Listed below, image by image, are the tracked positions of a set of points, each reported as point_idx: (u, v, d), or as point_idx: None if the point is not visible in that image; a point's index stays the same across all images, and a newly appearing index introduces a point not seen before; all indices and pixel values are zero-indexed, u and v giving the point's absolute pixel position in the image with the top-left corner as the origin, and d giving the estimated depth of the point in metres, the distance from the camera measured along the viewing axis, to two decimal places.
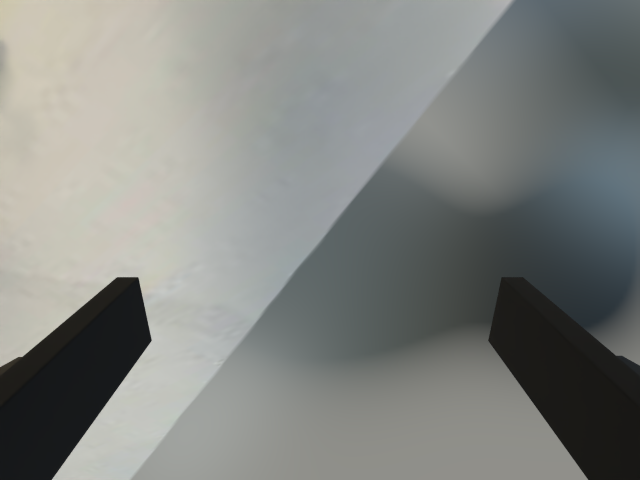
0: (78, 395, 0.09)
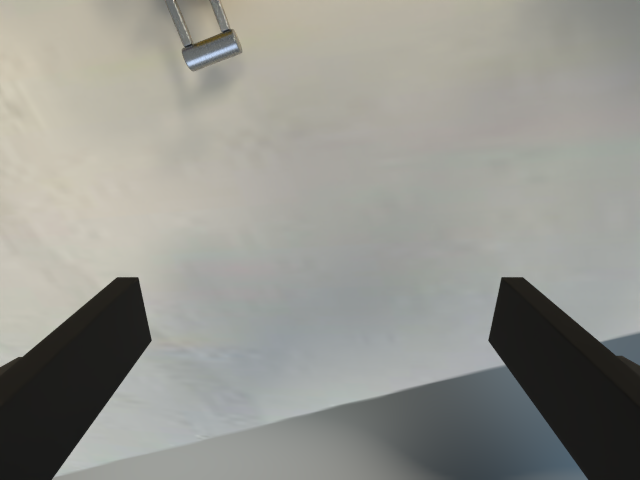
0: (78, 395, 0.09)
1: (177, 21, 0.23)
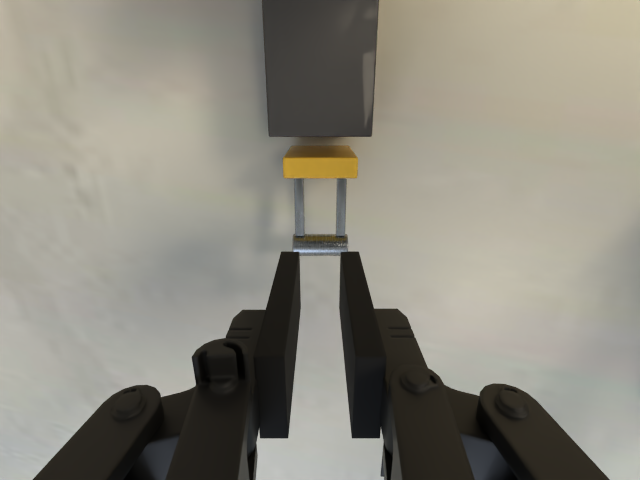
0: (293, 340, 0.11)
1: (299, 215, 0.23)
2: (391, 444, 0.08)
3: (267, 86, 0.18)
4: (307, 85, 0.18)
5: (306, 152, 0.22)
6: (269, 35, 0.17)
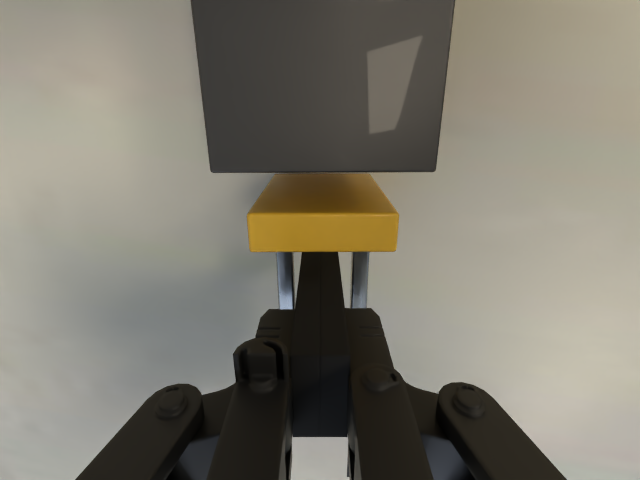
0: None
1: (285, 300, 0.13)
2: (355, 444, 0.08)
3: (199, 60, 0.08)
4: (292, 57, 0.08)
5: (296, 194, 0.12)
6: None
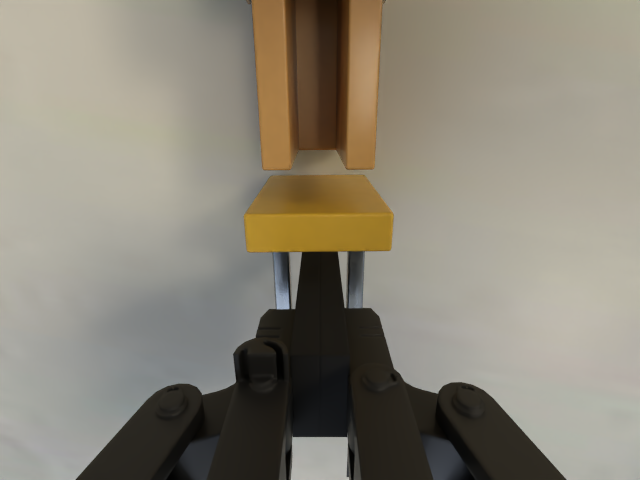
0: None
1: (282, 300, 0.13)
2: (354, 444, 0.08)
3: None
4: None
5: (292, 195, 0.12)
6: None
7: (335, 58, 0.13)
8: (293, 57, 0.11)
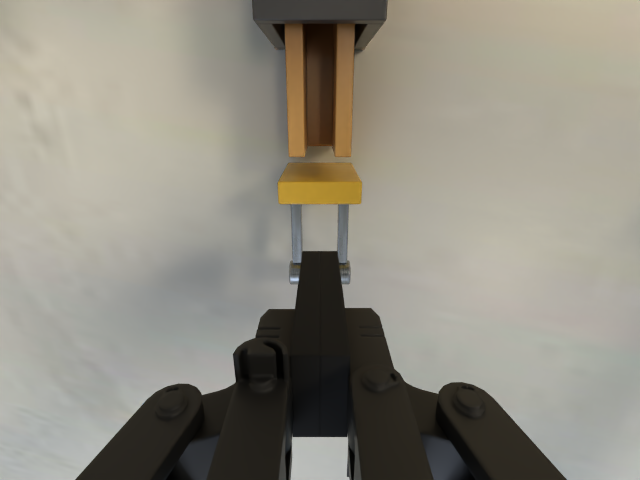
0: None
1: (296, 241, 0.21)
2: (355, 444, 0.08)
3: None
4: None
5: (304, 173, 0.20)
6: None
7: (331, 88, 0.21)
8: None
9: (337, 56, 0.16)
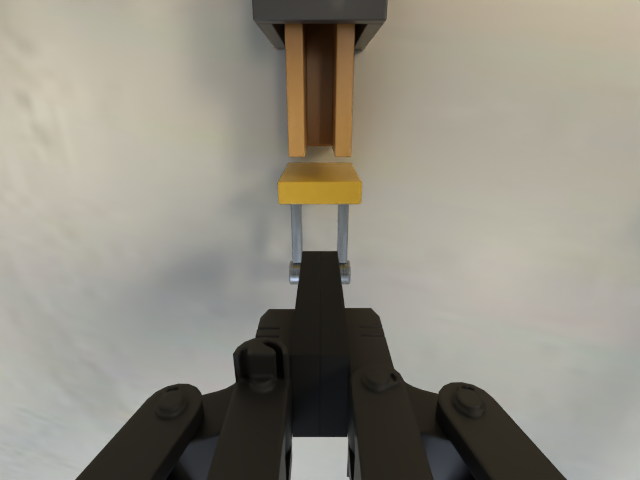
0: None
1: (296, 241, 0.21)
2: (355, 444, 0.08)
3: None
4: None
5: (304, 173, 0.20)
6: None
7: (331, 88, 0.21)
8: None
9: (337, 56, 0.16)
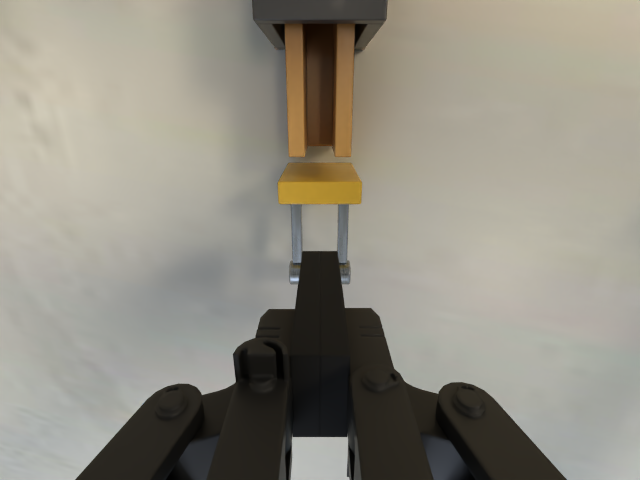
0: None
1: (296, 241, 0.21)
2: (355, 444, 0.08)
3: None
4: None
5: (304, 173, 0.20)
6: None
7: (331, 88, 0.21)
8: None
9: (337, 56, 0.16)
